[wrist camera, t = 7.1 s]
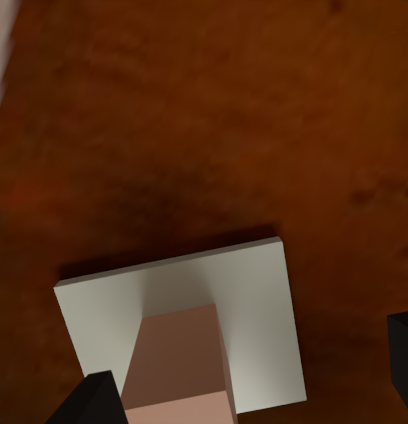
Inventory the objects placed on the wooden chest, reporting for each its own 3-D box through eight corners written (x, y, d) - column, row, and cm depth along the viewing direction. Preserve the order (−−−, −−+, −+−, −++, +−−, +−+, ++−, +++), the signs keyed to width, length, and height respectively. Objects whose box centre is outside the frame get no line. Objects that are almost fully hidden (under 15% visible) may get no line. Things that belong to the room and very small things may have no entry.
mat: (278, 236, 18) (282, 241, 17) (302, 389, 20) (306, 399, 19) (59, 280, 18) (53, 287, 17) (109, 426, 20) (106, 438, 19)
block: (215, 303, 18) (225, 390, 12) (229, 366, 18) (245, 475, 13) (142, 318, 18) (116, 411, 12) (159, 380, 19) (144, 494, 13)
